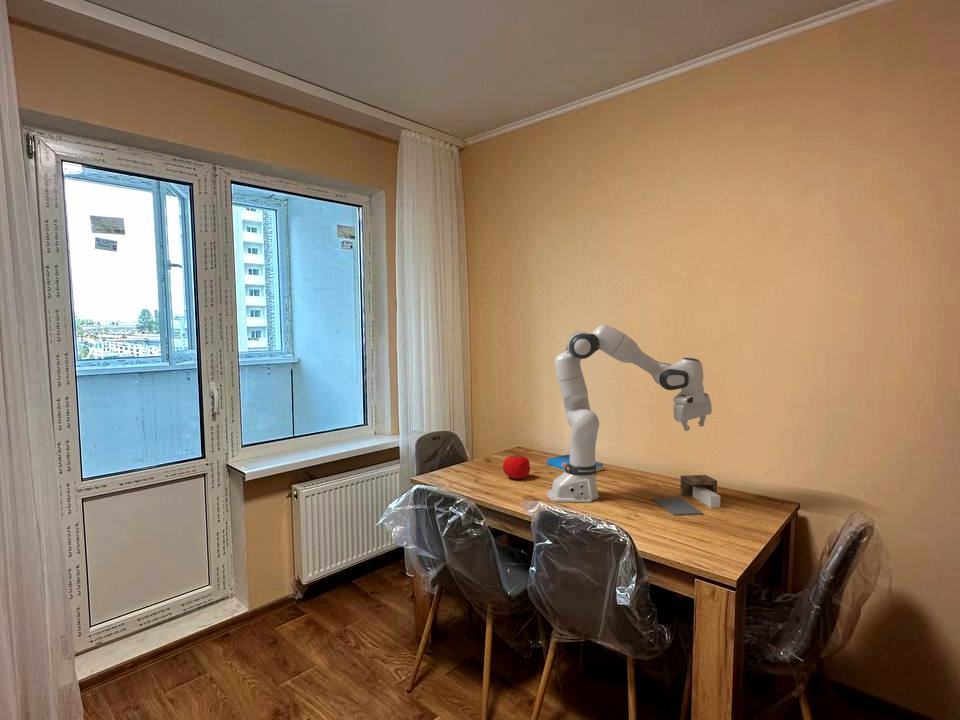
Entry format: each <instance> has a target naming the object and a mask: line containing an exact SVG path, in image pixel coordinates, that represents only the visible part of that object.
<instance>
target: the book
mask: <svg viewBox="0 0 960 720" xmlns="http://www.w3.org/2000/svg"><path fill="white" fill-rule="evenodd" d="M569 462H570V453H569V454H566V455H559V456H554V457H549V458H547V460H546V463H547V466H550V465H551V466H550V467H553V466H554V468H556V467H557V469H559V468H560V469H559V470H562V469H563V470H562V471H565V468H563V466H562V464H563V463H566V464H568V463H569ZM595 464H596V469H597V471H599V472H601V471H600V470H603V471H604V467H603V466H604V463H602V462H597V461H595Z"/></svg>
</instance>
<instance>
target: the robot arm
mask: <svg viewBox="0 0 960 720" xmlns="http://www.w3.org/2000/svg"><path fill="white" fill-rule="evenodd" d="M597 351H601V352H603V353H605V354H606V355H608V356H610V357H611V358H613V359H614V360H616V361H619V362H622V363H623V364H624V363H626V364H633V365H635V366H638V367H639V368H640V369H641V370H644V371H645V372H647V373H648V374H650V375H651V376H652V378H653V380H654V381H655V383H656V384H658V385H659V386H661V388H663V389H664V390H667V391H676V390H680V392H678V394H677V395H675V396H674V397H673V398H672V402H673V403H674V404H673V419H674V420H675V422H680V423H681V425H682V427H683V431H685V432H687V431H690V426H689V425H688V421H690V420H694V419H698V418H699V421H698V422H697V424H698V425H697V426H698V427H704V426H705V421H706V418H707V416H709V415H711V414H712V412H713V406H712V402H711V398H710V395H709V394H708V393H707V392H705V388H704V384H703V382H704V369H703V367H704V366H703V363H702V362H701V360H699V359H698V358H693V357H682V358H681V359H680V360H678V361H677V362H676V363H673V364H670V363H666V362H660V361H658V360H656V359H654V358H653V357H651V356H650V355H648V354H647V353H645V352H644V351H643V350H642V349H641V348H640V346H639V345H638V343H637V342H636V341H635V340H634V339H632V338H631V337H630V336H629V335H628V334H626V333H624V332H622V331H620V330H619V329H617V328H614V327H613V326H611V325H608V324H600V325H598V326H597V327H596V328H595V329H594V331H592V332H591V333H588V332H584V331H576V332H574V333H572V335H570V337H569V339H568V341H567V345H566V349H565V351H564V352H562V353H560V354H557V356H556V357H555V358H554V369H555V375H556V378H557V382H558V386H559V390H560V393H561V396H562V400H563V407H564V410H565V414H566V418H567V422H568V424H569V426H570V427H571V438H570V443H569V454H570V462H569V463H568V464H566V463H563V464H562V466H563V468H565V470H564V472H562V473H561V474H560V475H558V476H557V477H556V478H554V479H553V482H552V486H551V489H547V490H546V496H547V497H548V499H549V500H551V501H553V502H557V503H558V502H559V503H560V502H561V503H592V502H593V501H595V500H597V499H598V498H600V495H599V492H598V487H597V480H596V479H597V478H596V477H597V473H598V472H597V469H596V464H595V462H596V445H597V439H598V432H599V428H600V421H599V417H598V416H597V414H596V413H595V412H594V411H593V410H592V409H591V406H590V403H589V402H590V401H589V394H588V393H589V392H588V388H587V384H586V381H585V377H584V373H583V370H582V368H581V361H582V360H584V359H588V358H590V357H591V356H593V354H594V353H596V352H597Z"/></svg>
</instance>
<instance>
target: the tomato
mask: <svg viewBox="0 0 960 720" xmlns="http://www.w3.org/2000/svg"><path fill="white" fill-rule="evenodd" d="M502 470H503V472H504V474H505V475H506V476H507V477H508V478H511V479H514V480H521V479H525V478H526V477H528V476H529V474H530V472H531V464H530V461H529V459H528V458H527V457H526V456H524V455H521V454H515V455H510V456H506V458H505V459H504V461H503V463H502Z"/></svg>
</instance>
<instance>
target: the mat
mask: <svg viewBox="0 0 960 720" xmlns="http://www.w3.org/2000/svg"><path fill="white" fill-rule="evenodd" d="M651 500H652V501H653V500H654V502H655V503H656V504H657V505H659V506H660V507H661V506H662V509H664V510H665V509H666V511H667V512H668V513H669V512H670V514H671V515H672V516H673V515H674V516H675V515H678V516H695V515H697V514H700V515H704V512H702V511H701V510H699V509H698V508H696V507H695V506H694V505H692V504H690V503H689V502H687V501H686V500H684V499H682V498H681V497H679V496H674V497H673V496H672V497H671V496H669V497H655V498H654V497H652V498H651Z"/></svg>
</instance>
